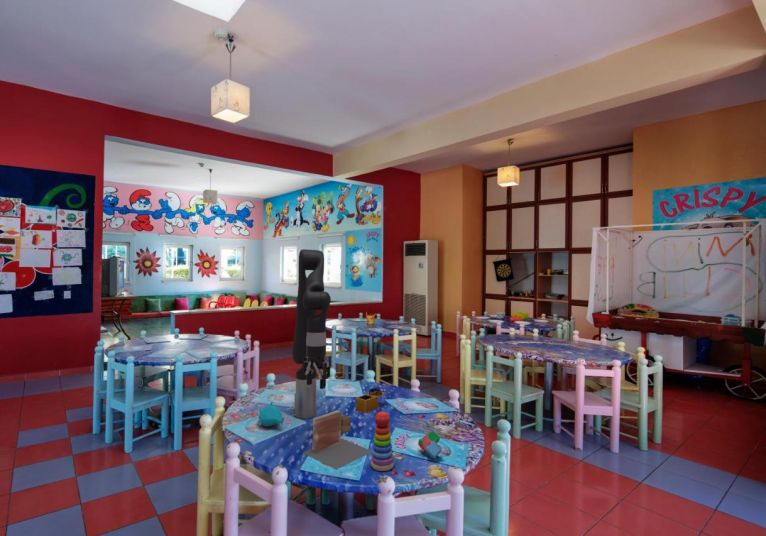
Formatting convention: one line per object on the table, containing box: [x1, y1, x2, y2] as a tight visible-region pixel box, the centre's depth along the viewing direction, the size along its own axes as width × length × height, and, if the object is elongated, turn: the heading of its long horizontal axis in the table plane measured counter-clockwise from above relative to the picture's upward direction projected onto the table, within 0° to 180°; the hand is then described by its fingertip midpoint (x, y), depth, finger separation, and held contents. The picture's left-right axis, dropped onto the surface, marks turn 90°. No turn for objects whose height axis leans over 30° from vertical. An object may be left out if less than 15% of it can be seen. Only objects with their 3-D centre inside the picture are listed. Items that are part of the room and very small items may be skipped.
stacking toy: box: [370, 411, 395, 472], centre depth 140 cm, size 8×8×19 cm
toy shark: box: [257, 401, 285, 427], centre depth 173 cm, size 10×18×11 cm, turn 49°
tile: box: [312, 410, 342, 453], centre depth 153 cm, size 2×12×12 cm, turn 139°
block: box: [341, 414, 352, 434], centre depth 169 cm, size 4×4×6 cm
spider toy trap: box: [355, 387, 387, 414], centre depth 197 cm, size 6×15×9 cm, turn 139°
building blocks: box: [417, 429, 442, 460], centre depth 150 cm, size 8×8×12 cm
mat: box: [302, 437, 372, 470], centre depth 149 cm, size 18×18×1 cm
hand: (315, 386), depth 157 cm, fingers open, 7 cm apart
